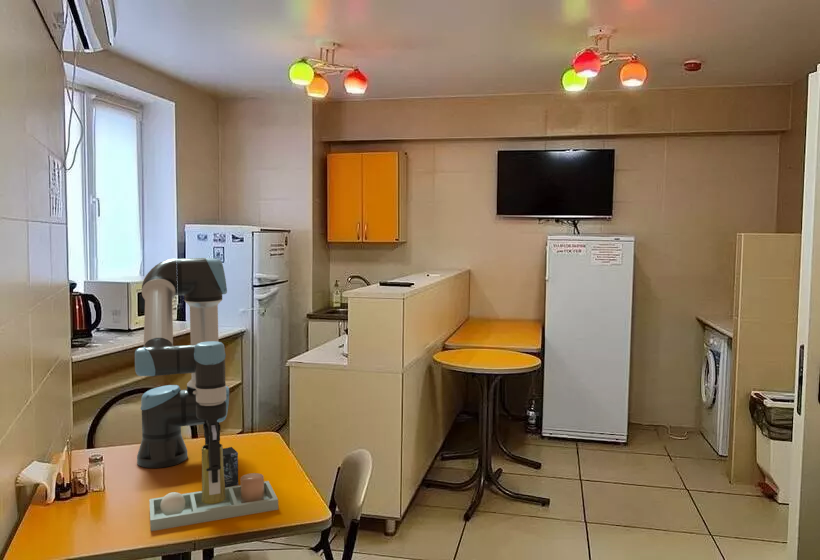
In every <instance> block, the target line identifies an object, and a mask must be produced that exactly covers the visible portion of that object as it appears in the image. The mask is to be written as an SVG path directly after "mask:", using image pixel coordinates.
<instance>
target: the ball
mask: <svg viewBox="0 0 820 560" xmlns="http://www.w3.org/2000/svg"><path fill="white" fill-rule="evenodd" d="M181 494H182V493H180V492H177V491H176V492H175V491H173V492H169V493H167V494H166V495H164V496H163V497H164V498H163V499H162V501H161V505H160V507H161V511H162V512H163V514H164V515H166V516H168V515H174V514H180V513H182V511H183V510H184V508H185V499H184V497H183V496H182V495H181Z"/></svg>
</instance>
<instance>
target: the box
mask: <svg viewBox="0 0 820 560" xmlns="http://www.w3.org/2000/svg"><path fill="white" fill-rule="evenodd" d="M238 456H239V452H238V451H237V450H236V449H235V448H234V447H232V446H229V447H225V448H223V468H224V481H225V487H231V486H238V485H239V457H238Z"/></svg>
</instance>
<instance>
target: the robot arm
mask: <svg viewBox="0 0 820 560" xmlns="http://www.w3.org/2000/svg"><path fill="white" fill-rule="evenodd" d="M223 265H224V264H223V262H222V260H220V259H219V258H212V257H194V258H193V257H192V258H191V257H189V258H168V259H166V260H163V261H160V262H159V263H158V264H156V265H154V266H153V267H152V268H151V269H150V270H149V271H148V272H147V274H146V275H145V277H144V279H143V281H142V284H141V296H142V298H143V299H144V322H143V323H144V324H143V325H144V326H143V327H144V328H143V346H142V347H139V348H136V349H135V350H134V371H135V374H136V376H139V377H157V376H168V375H177V374H178V375H181V374H191V379H190V380H189V381H188V382H187V383H186V389H181V387H180V386H179V384H178V385H177V384H168V385H167V384H166V385H162V386H157V387H154V388H151V389H148V390H147V391H144V393H143V394H142V396H141V399H140V401H141V403H140V410H141V434H142V436H141V441H140V444H139V448H138V453H137V454H136V463H137V465H138V466H140V467H142V468H145V469H146V468H147V469H161V468H167V467H172V466H176V465H179V464H182V463H183V462H184V461H186V460H187V459H188V447H187V445H186V443H185V440H184V438H183V435H182V427H187V426H188V427H190V426H198V425H202V426H203V427H202V429H203V436H204V445H206V444H208V452H209V468H208V469H206V471H209V495H213V494H219V493H220V469H221V466H220V444H221V432H220V431H222V429H221V424H220V423H222V422H224V421H225V420H226V418H227V416H228V409H229V403H230V402H229V401H230V389H229V388H230V387H229V386H227V384H226V356H227V354H226V351H225V350H226V349H225V344H224V343H223V342H222V341H219V310H218V309H219V307H218V306H219V304H220V303H221V302H222V301H223V295H226V294H227V293H228V289H227V280H226V275H225V270H224V266H223ZM175 296H183V297H184V302H185V303H186V305H188V306H189V324H190V325H189V330H190V335H189V336H190V344H189V345H187V344H186V345H183V344H182V345H174V335H173V334H174V329H173V326H174V322H173V300H174V298H175Z"/></svg>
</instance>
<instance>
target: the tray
mask: <svg viewBox="0 0 820 560" xmlns="http://www.w3.org/2000/svg"><path fill="white" fill-rule="evenodd" d="M180 494H181V495H182V496H183V497H184V499H185V508H184V510H183V511H182V513H180V514H174V515H168V516H166V515H164V514H163V512H162V511H161V507H160V505H161V501H162V499H163V498H164V496H161V497H154V498H149V522H150V523H149V525H150V532H154V531H161V530H167V529H173V528H178V527H184V526H190V525H195V524H201V523H207V522H213V521H218V520H225V519H230V518H237V517H243V516H247V515H248V516H249V515H254V514H260V513H266V512H272V511H273V512H274V511H278V510H279V499H278V497H277V495H276V493H275V491H274V489H273V486H272V485H271V483H270V481H269V480H264V500H259V501H253V502H247V503H241V484H238V485H235V486H231V487H225V496H226V498H225V500H224V501H222V502H220V503H216V504H205V503H203V502H202V501H201V499H202V490H200V491H199V490H198V491H194V492H193V491H192V492H185V493H180Z"/></svg>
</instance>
